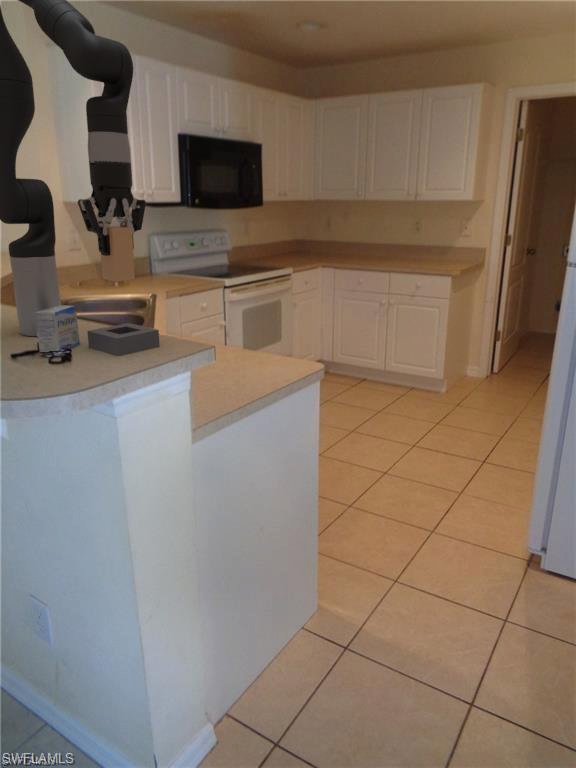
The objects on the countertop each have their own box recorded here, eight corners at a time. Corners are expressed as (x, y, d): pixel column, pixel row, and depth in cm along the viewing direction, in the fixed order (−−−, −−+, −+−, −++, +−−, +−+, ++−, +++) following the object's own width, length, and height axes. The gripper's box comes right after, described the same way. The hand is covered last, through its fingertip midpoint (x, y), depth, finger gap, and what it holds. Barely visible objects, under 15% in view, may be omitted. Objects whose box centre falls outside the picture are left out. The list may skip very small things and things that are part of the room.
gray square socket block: (89, 349, 115) (87, 330, 114) (130, 341, 123) (128, 323, 121) (118, 358, 109) (116, 338, 108) (159, 348, 117) (158, 329, 115)
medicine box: (59, 356, 110) (54, 312, 108) (39, 355, 111) (33, 311, 108) (80, 346, 118) (76, 305, 115) (61, 345, 119) (56, 304, 116)
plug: (102, 279, 111) (98, 226, 108) (121, 277, 114) (118, 226, 111) (115, 281, 108) (112, 227, 105) (134, 279, 112) (131, 227, 109)
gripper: (129, 162, 112) (135, 250, 117) (63, 158, 101) (73, 255, 107) (153, 162, 108) (158, 253, 113) (87, 157, 97) (95, 258, 102)
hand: (116, 253), depth 110 cm, fingers closed on plug, 4 cm apart
